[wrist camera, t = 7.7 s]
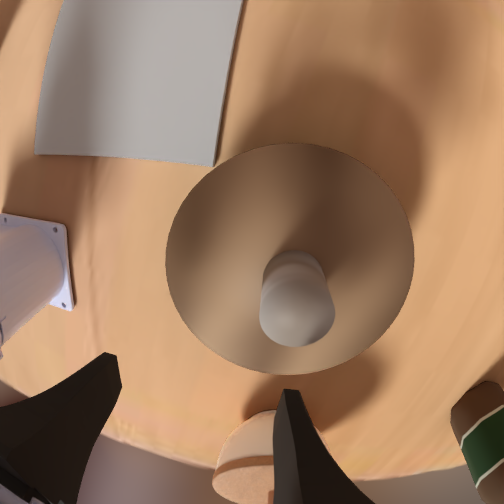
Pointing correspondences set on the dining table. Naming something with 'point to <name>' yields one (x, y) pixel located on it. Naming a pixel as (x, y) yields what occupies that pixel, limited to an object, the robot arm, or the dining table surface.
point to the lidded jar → (249, 462)
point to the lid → (290, 259)
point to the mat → (137, 79)
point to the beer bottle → (482, 438)
